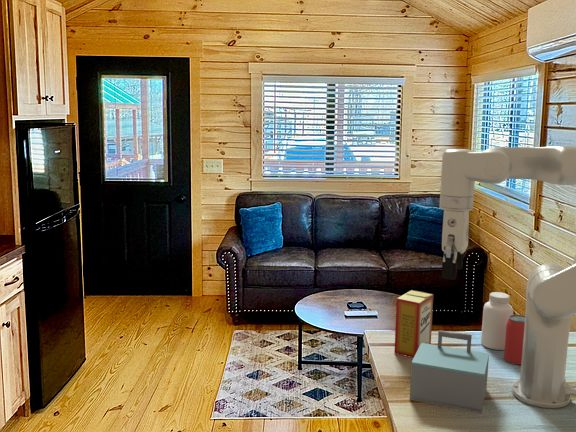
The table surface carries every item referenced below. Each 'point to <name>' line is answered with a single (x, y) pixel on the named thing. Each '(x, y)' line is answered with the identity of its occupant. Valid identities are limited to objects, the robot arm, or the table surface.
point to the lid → (452, 356)
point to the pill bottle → (495, 320)
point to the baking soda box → (413, 322)
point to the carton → (448, 388)
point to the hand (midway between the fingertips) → (452, 273)
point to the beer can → (514, 339)
